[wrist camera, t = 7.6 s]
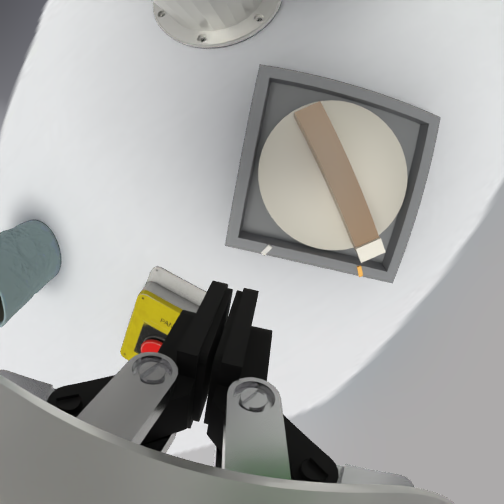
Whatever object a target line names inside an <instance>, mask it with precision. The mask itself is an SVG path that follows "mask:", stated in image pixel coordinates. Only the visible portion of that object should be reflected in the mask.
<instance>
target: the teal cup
mask: <svg viewBox="0 0 504 504" xmlns="http://www.w3.org/2000/svg"><path fill="white" fill-rule="evenodd" d="M60 255H61V254H60V250H59V246H58V244H57V240H56V238H55V236H54V234H53V233H52V231H51V230H50V229H49V228H48V227H47V226H46V225H45V224H44V223H42V222H40V221H37V220H31V221H27V222H25V223H22V224H19V225H17V226H16V227H14V228H12V229H9V230H6V231H2V232H1V233H0V327H2V326H4V325H5V324H6V323H7V321H8V320H9V319H10V318H11V317H12V316H13V315H14V314H15V313H16V312H17V311H18V310H19V309H20V308H22V307H23V306H24V305H25V304H26V303H27V302H28V301H29V300H30V299H31V298H32V297H33V295H34V294H35V293H37V292H38V291H39V290H40V289H41V288H43V287H44V286H45V285H46V284H47V283H48V282H49V281H50V280H51V279H52V278H54V277H55V276H56V275H57V273H58V272H59V269H60V264H61V256H60Z"/></svg>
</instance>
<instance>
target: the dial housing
mask: <svg viewBox="0 0 504 504" xmlns="http://www.w3.org/2000/svg"><path fill="white" fill-rule="evenodd" d="M328 100H335V101H344V102H349V103H353V104H356V105H359V106H361V107H363V108H365V109H367V110H369V111H371V112H372V113H374V114H375V115H377V116H378V117H379V118H380V119H381V120H383V121H384V122H385V123H386V124H387V125H388V127H389V128H390V129H391V130H392V131H393V133H394V134H395V136H396V138H397V139H398V141H399V143H400V145H401V147H402V150H403V153H404V156H405V160H406V165H407V188H406V193H405V197H404V200H403V203H402V206H401V208H400V210H399V212H398V214H397V215H396V217H395V218H394V220H393V221H392V223H391V224H390V225H389V226H388V227H387V228H386V229H385V230H384V231H383V232H382V233H381V234H380V235H379V237H380V238H381V240H382V243H383V246H384V249H385V253H383V254H380V255H378V256H376V257H374V258H371V259H369V260H367V261H364V262H362V263H361V262H360V259H359V257H358V255H357V253H356V251H355V249H354V248H350V249H345V250H324V249H318V248H314V247H311V246H308V245H305V244H303V243H301V242H299V241H297V240H296V239H294V238H292V237H291V236H289V235H288V234H287V233H286V232H284V231H283V230H282V229H281V228H280V227H279V226H278V225H277V224H276V222H275V221H274V220H273V218H272V217H271V215H270V214H269V212H268V210H267V209H266V206H265V204H264V202H263V199H262V196H261V192H260V188H259V181H258V168H259V160H260V156H261V152H262V149H263V147H264V144H265V142H266V140H267V138H268V136H269V135H270V133H271V131H272V130H273V129H274V128H275V126H276V125H277V124H278V123H279V122H280V121H281V120H282V119H283V118H284V117H285V116H287V115H288V114H290V113H291V112H292V111H294V110H296V109H298V108H300V107H302V106H304V105H307V104H310V103H314V102H319V101H328ZM439 122H440V117H438V116H436V115H434V114H432V113H429V112H427V111H425V110H422V109H420V108H417V107H415V106H412V105H410V104H407V103H405V102H402V101H399V100H396V99H394V98H391V97H388V96H385V95H382V94H379V93H376V92H373V91H370V90H367V89H364V88H361V87H357V86H354V85H351V84H347V83H344V82H340V81H336V80H332V79H329V78H325V77H321V76H316V75H312V74H308V73H303V72H298V71H294V70H289V69H283V68H278V67H272V66H266V65H259V70H258V75H257V79H256V84H255V89H254V94H253V99H252V104H251V108H250V113H249V118H248V123H247V128H246V134H245V139H244V144H243V149H242V154H241V159H240V165H239V170H238V175H237V181H236V186H235V192H234V197H233V203H232V208H231V214H230V220H229V225H228V231H227V237H226V243H225V246H229V247H233V248H238V249H242V250H247V251H251V252H256V253H260V254H263V255H264V256H265V255H269V256H273V257H278V258H282V259H287V260H291V261H296V262H300V263H304V264H309V265H313V266H318V267H322V268H327V269H331V270H336V271H340V272H344V273H349V274H353V275H358V276H359V277H361V276H362V277H367V278H371V279H376V280H380V281H384V282H389V283H393V281H394V279H395V276H396V273H397V271H398V268H399V265H400V263H401V260H402V257H403V255H404V252H405V249H406V246H407V243H408V240H409V237H410V234H411V231H412V228H413V225H414V222H415V219H416V216H417V212H418V209H419V206H420V202H421V199H422V195H423V192H424V188H425V184H426V181H427V177H428V173H429V169H430V165H431V160H432V156H433V152H434V147H435V143H436V138H437V133H438V128H439Z"/></svg>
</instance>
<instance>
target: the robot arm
mask: <svg viewBox="0 0 504 504" xmlns="http://www.w3.org/2000/svg"><path fill="white" fill-rule="evenodd" d="M152 1H153V12H154V16H155V19H156V21H157V23H158V25H159V26H160V28H161V29H162V30H163V31H164V32H165V33H166V34H167V35H168V36H170V37H171V38H173V39H174V40H176V41H178V42H180V43H182V44H185V45H189V46H192V47H200V48H217V47H223V46H228V45H232V44H235V43H238V42H241V41H243V40H245V39H247V38H249V37H251V36H253V35H255V34H256V33H257V32H259V31H260V30H261V29H263V28H264V27H265V26H266V25H267V24H268V23H269V22H270V21H271V20H272V19H273V17H274V16H275V14H276V13H277V11H278V9H279V6H280V4H281V1H282V0H152ZM164 15H165V16H164ZM258 19H262V21H257V20H258ZM203 39H206V40H205V41H204V42H202V40H203ZM232 292H233V289H229V288H228V284H225V283H221V282H216V281H212V283H211V285H210V287H209V289H208V291H207V293H206V295H205V297H204V299H203V300H202V302H201V304H200V306H199V308H198V310H197V312H196V313H195V312H191V311H187V310H182V312H181V313H180V315H179V316H178V318H177V320H176V321H175V323H174V325H173V327H172V328H171V330H170V332H169V333H168V335H167V337H166V339H165V340H164V342H163V344H162V345H161V347H160V349H159V351H158V352H144V353H140V354H138V355H135V356H134V357H133V358H131V359H130V360H129V361H128V362H127V363H126V364H125V365H124V367H123V368H122V369H121V370H120V371H119V372H118V373H117V374H116V375H114V376H109V377H105V378H101V379H96V380H92V381H87V382H82V383H77V384H72V385H67V386H63V387H60V388H58V389H54V388H53V385H51V384H47V383H44V382H41V381H37V380H34V379H31V378H28V377H25V376H22V375H19V374H16V373H13V372H10V371H7V370H0V504H454V503H453V502H452V501H451V500H449V499H448V498H447V497H445V496H443V495H440V494H438V493H435V492H431V491H428V490H424V489H419V488H415V487H414V485H413V484H412V482H411V481H410V480H409V479H408V478H406V477H405V476H402V475H398V474H392V473H386V472H380V471H375V470H370V469H365V468H361V467H356V466H351V465H348V464H345V465H344V466H339V465H336V464H335V463H334V461H333V460H332V459H331V458H330V457H329V456H328V455H326V454H325V453H324V452H323V451H322V450H321V449H320V448H319V447H317V446H316V445H315V444H314V443H313V442H312V441H311V440H310V439H308V438H307V437H306V436H305V435H304V434H303V433H302V432H301V431H300V430H299V429H298V428H297V427H296V426H295V425H293V423H291V422H290V421H289V420H288V419H287V418H286V417H285V416H284V415H283V410H282V403H281V397H280V394H279V392H278V390H277V389H276V388H275V387H274V386H273V385H272V384H270V383H269V382H267V374H268V365H269V357H270V348H271V339H272V330H267V329H262V328H258V327H253V326H251V325H252V321H253V316H254V311H255V307H256V302H257V297H258V292H259V291H256V290H251V289H247V288H244V289H243V292H242V291H238V290H237V292H236V295H235V298H234V301H233V304H232V307H231V310H230V313H229V308H230V303H231V297H232ZM228 314H229V316H228ZM207 396H208V398H207ZM206 399H207V405H206V412H205V418H204V423H206V424H208V430H207V435H208V436H209V438H210V439H211V440H212V441H213V443H214V444H215V445H216V447H215V457H214V467H213V466H208V465H204V464H200V463H196V462H193V461H189V460H185V459H182V458H178V457H175V456H172V455H169V454H166V452H167V450H168V449H169V447H170V445H171V444H172V442H173V440H174V439H175V436H176V432H179V431H182V430H185V429H187V428H191V425H192V422H193V420H194V421H198V422H199V420H200V418H201V414H202V411H203V408H204V405H205V402H206Z"/></svg>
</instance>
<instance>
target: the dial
mask: <svg viewBox="0 0 504 504" xmlns="http://www.w3.org/2000/svg"><path fill="white" fill-rule="evenodd" d="M258 181H259V188H260V192H261V196H262V199H263V202H264V204H265V206H266V209H267V210H268V212H269V214H270V215H271V217H272V218H273V220H274V221H275V222H276V224H277V225H278V226H279V227H280V228H281V229H282V230H283V231H284V232H286V233H287V234H288V235H289V236H291V237H292V238H294V239H296V240H297V241H299V242H301V243H303V244H305V245H308V246H311V247H314V248H318V249H324V250H345V249H350V248H354V249H355V251H356V253H357V255H358V257H359V259H360V262H361V263H362V262H364V261H367V260H369V259H371V258H374V257H376V256H378V255H380V254H383V253H385V249H384V246H383V243H382V240H381V238H380V237H379V235H380V234H381V233H382V232H383V231H384V230H385V229H386V228H387V227H388V226H389V225H390V224H391V223H392V221H393V220H394V218H395V217H396V215H397V214H398V212H399V210H400V208H401V206H402V203H403V200H404V197H405V193H406V188H407V165H406V160H405V156H404V153H403V150H402V147H401V145H400V143H399V141H398V139H397V138H396V136H395V134H394V133H393V131H392V130H391V129H390V128H389V127H388V125H387V124H386V123H385V122H384V121H383V120H381V119H380V118H379V117H378V116H377V115H375V114H374V113H372V112H371V111H369V110H367V109H365V108H363V107H361V106H359V105H356V104H353V103H349V102H344V101H335V100H328V101H319V102H314V103H310V104H307V105H304V106H302V107H300V108H298V109H296V110H294V111H292V112H291V113H290V114H288V115H287V116H285V117H284V118H283V119H282V120H281V121H280V122H279V123H278V124H277V125H276V126H275V128H274V129H273V130H272V131H271V133H270V135H269V136H268V138H267V140H266V142H265V144H264V147H263V149H262V152H261V156H260V160H259V168H258Z"/></svg>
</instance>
